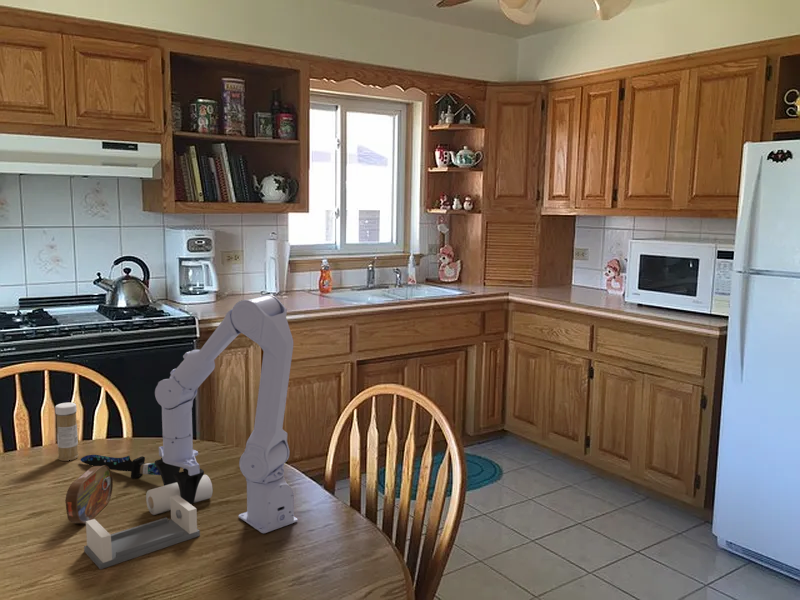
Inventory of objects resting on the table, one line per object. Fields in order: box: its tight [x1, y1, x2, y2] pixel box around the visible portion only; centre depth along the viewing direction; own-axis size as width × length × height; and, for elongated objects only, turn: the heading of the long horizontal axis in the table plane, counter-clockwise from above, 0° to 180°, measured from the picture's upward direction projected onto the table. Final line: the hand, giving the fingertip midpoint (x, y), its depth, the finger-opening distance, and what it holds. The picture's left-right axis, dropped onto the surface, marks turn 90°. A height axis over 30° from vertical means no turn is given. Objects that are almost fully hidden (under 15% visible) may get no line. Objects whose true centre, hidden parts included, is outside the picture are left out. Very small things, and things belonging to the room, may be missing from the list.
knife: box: [80, 454, 161, 480], centre depth 154 cm, size 31×3×4 cm, turn 61°
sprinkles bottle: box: [54, 401, 80, 462], centre depth 163 cm, size 5×5×13 cm
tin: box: [64, 465, 114, 525], centre depth 134 cm, size 15×3×8 cm, turn 179°
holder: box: [83, 495, 201, 570], centre depth 123 cm, size 8×18×6 cm, turn 133°
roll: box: [145, 474, 214, 516], centre depth 139 cm, size 5×12×5 cm, turn 133°
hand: (179, 498), depth 139 cm, fingers open, 7 cm apart
